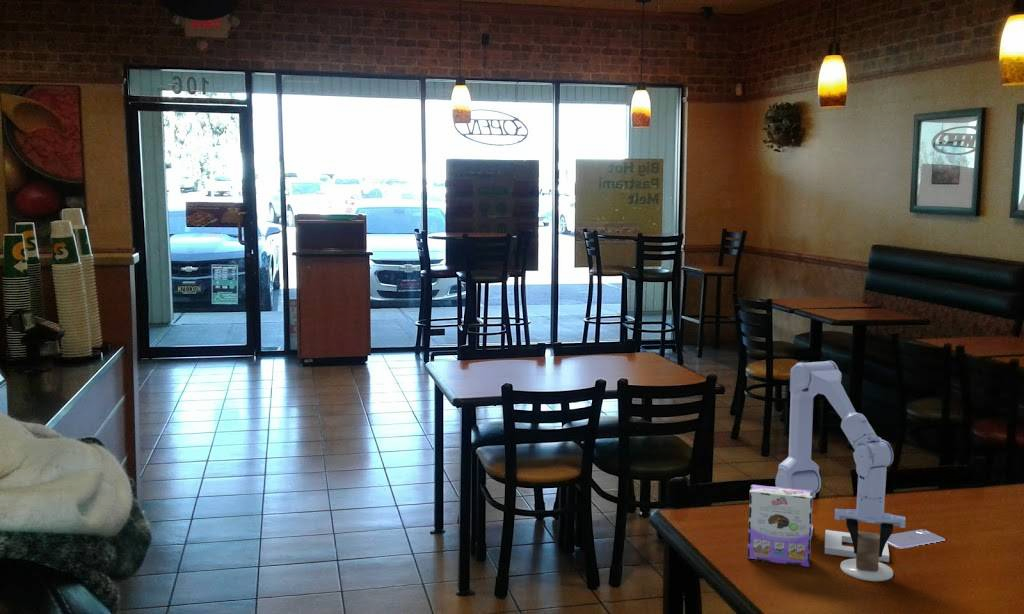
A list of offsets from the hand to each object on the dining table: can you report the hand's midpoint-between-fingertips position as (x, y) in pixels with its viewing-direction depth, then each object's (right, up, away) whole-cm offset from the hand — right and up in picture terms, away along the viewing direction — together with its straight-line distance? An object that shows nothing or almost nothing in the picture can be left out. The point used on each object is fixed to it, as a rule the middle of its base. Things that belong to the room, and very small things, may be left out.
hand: (867, 553), depth 203 cm
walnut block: (0, -3, +1) cm, 3 cm away
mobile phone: (+18, -2, +19) cm, 27 cm away
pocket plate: (+3, -2, +13) cm, 14 cm away
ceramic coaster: (0, -4, 0) cm, 4 cm away
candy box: (-18, -3, +7) cm, 19 cm away
